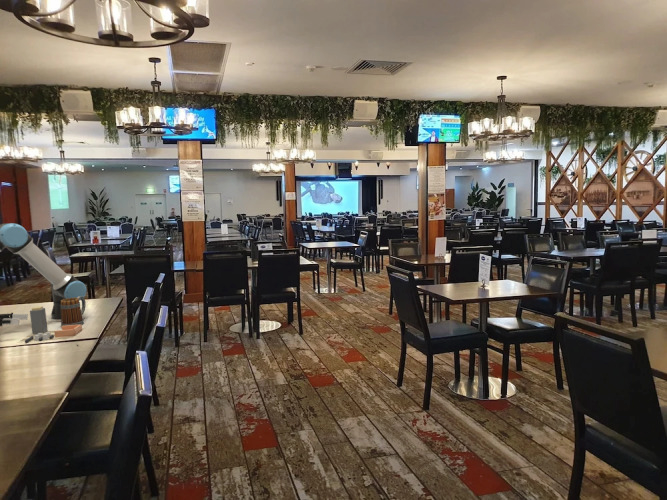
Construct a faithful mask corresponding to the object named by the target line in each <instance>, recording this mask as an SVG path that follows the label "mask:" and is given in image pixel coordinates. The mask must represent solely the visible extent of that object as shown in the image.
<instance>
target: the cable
mask: <svg viewBox="0 0 667 500" xmlns="http://www.w3.org/2000/svg"><path fill="white" fill-rule="evenodd" d="M53 337H54V335H51V336H50V337H49V338H50V339H52V338H53ZM33 338H34V337H33V336H31V337H30V338H28V339H26V340H25V342H24V343H26V344H28V342H29V341H30V340H32V339H33ZM41 340H43V337H41V338H39V341H38V342H42V341H41Z"/></svg>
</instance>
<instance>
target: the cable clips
mask: <svg viewBox="0 0 667 500" xmlns="http://www.w3.org/2000/svg"><path fill="white" fill-rule="evenodd" d="M50 336H51V332H48V333H45V334H44V335H43V333H38V334H37V335H35V336H34V337H35V341H34V342H40V341H39V338H41V337H43V340H44V341H49V340H48V338H49V337H50Z"/></svg>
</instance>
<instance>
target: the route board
mask: <svg viewBox="0 0 667 500" xmlns="http://www.w3.org/2000/svg"><path fill="white" fill-rule="evenodd" d="M84 329H85V327H82V331H83V330H84ZM58 330H59V329H55V330H48V331H47V332H46V333H48V332H51V335H54V337H53V338H52V339H50V338H48V340H47V341H55V340H67V339H73V338H74V337H75V336H66V337H55V332H54V331H58ZM82 331H80V332H79V333H81V332H82ZM44 334H45V333H44ZM44 334H43V335H44ZM35 335H37V334H35ZM35 335H33V334H32V333H30V334H28V335H27V336H25V337H24V338H22V339H20V340H18V342H17V343H26V342H25V340H26V339H28V338H30V337H31V336H33V337H34V336H35ZM42 341H43V342H44V341H45V340H41V341H40V342H42ZM29 342H31V343H32V342H36V341H35V337H34V338H33V339H32V340H30V341H29Z"/></svg>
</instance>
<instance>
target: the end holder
mask: <svg viewBox="0 0 667 500" xmlns="http://www.w3.org/2000/svg"><path fill="white" fill-rule="evenodd" d="M82 328H83V324H79V325H66V326H62V327H61V329H57V330H58V331H54V332H55V337H66V336H74V337H76V336H77V335H78V334H80V333H81V332H82V331H83V330H82ZM80 331H81V332H80Z"/></svg>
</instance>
